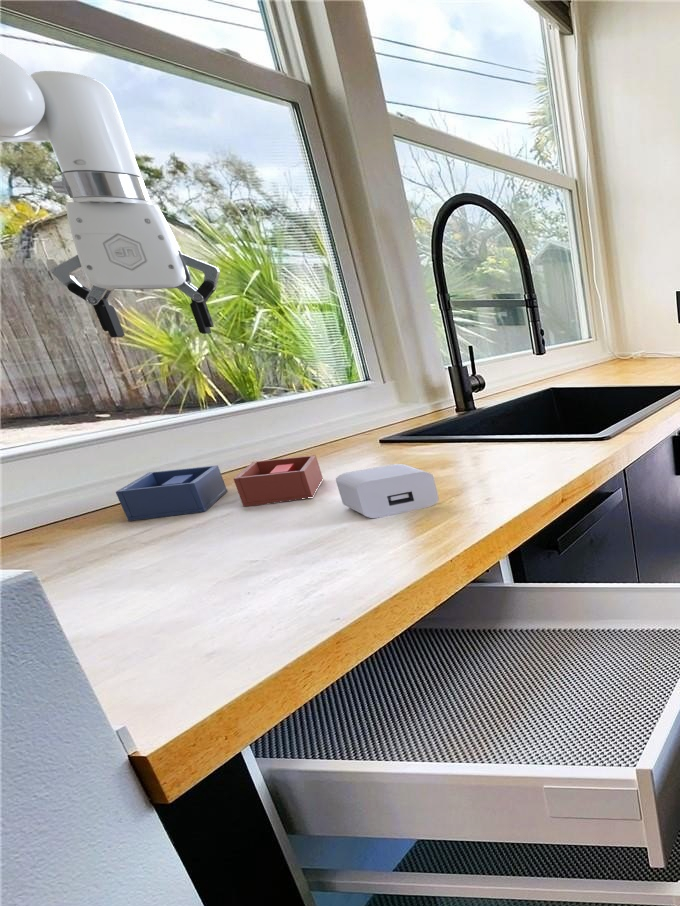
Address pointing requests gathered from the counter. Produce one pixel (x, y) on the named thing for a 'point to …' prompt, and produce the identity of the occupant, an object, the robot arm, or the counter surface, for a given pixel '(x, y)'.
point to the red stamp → (283, 468)
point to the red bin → (278, 481)
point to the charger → (387, 490)
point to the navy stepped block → (180, 480)
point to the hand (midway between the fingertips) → (162, 335)
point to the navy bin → (171, 493)
